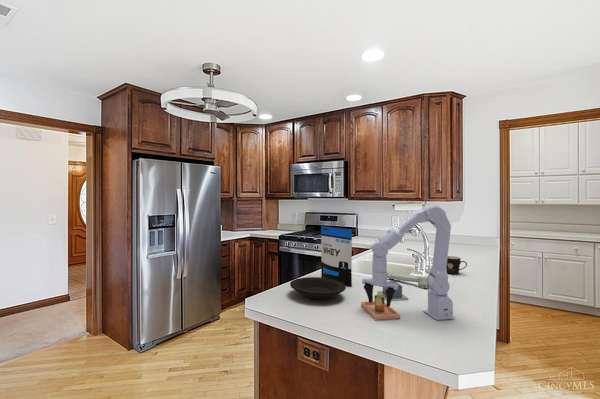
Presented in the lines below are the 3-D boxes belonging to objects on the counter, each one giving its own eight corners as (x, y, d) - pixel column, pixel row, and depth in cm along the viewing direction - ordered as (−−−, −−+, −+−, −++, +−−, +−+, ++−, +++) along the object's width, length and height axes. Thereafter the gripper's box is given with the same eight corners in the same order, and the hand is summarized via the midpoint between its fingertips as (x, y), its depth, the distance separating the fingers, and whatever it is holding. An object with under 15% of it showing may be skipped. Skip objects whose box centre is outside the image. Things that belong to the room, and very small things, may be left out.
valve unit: (408, 299, 142) (408, 286, 142) (387, 301, 141) (387, 288, 141) (395, 291, 155) (395, 279, 154) (376, 292, 153) (376, 280, 153)
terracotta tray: (400, 319, 120) (400, 314, 120) (375, 320, 119) (375, 316, 119) (382, 304, 136) (382, 300, 136) (361, 306, 135) (361, 301, 135)
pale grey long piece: (390, 271, 180) (431, 274, 161) (391, 283, 179) (432, 287, 160) (384, 273, 177) (425, 275, 157) (386, 284, 176) (427, 289, 157)
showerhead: (435, 266, 178) (447, 270, 169) (434, 278, 178) (447, 283, 169) (420, 267, 176) (432, 271, 166) (420, 279, 176) (432, 284, 166)
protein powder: (327, 276, 185) (327, 225, 184) (357, 285, 165) (357, 229, 165) (315, 278, 179) (315, 226, 179) (345, 288, 160) (345, 230, 159)
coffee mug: (441, 272, 192) (441, 256, 192) (452, 271, 194) (453, 255, 194) (456, 277, 181) (456, 260, 180) (468, 276, 183) (468, 259, 183)
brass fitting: (386, 310, 128) (386, 296, 128) (381, 313, 125) (381, 298, 125) (377, 308, 130) (377, 293, 130) (372, 310, 128) (372, 296, 127)
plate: (279, 295, 150) (279, 283, 149) (312, 285, 166) (312, 274, 166) (323, 310, 130) (323, 297, 130) (356, 297, 147) (356, 285, 147)
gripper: (400, 271, 126) (400, 304, 126) (367, 266, 135) (367, 297, 135) (394, 275, 121) (394, 310, 121) (360, 269, 129) (360, 302, 129)
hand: (379, 303), depth 128 cm, fingers open, 7 cm apart
